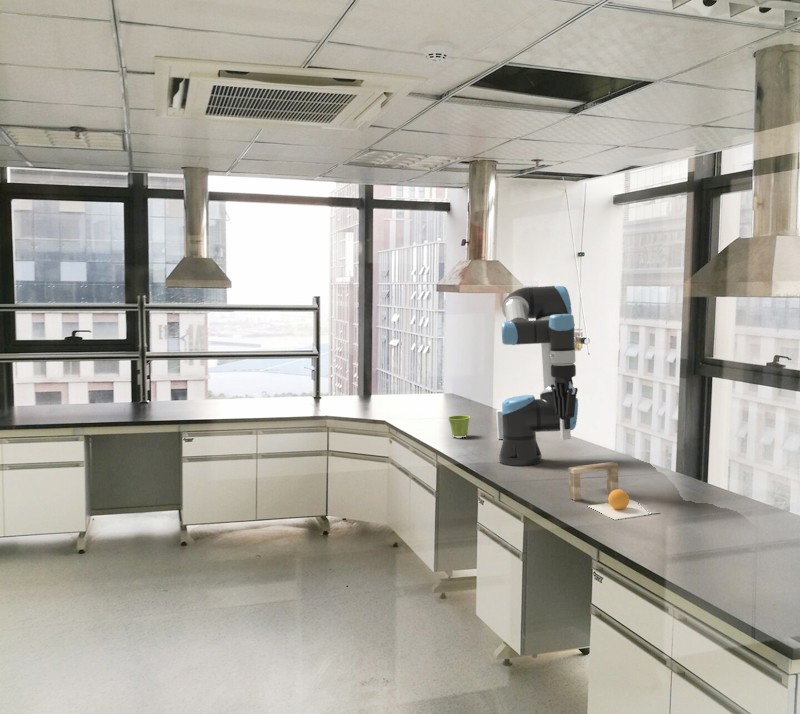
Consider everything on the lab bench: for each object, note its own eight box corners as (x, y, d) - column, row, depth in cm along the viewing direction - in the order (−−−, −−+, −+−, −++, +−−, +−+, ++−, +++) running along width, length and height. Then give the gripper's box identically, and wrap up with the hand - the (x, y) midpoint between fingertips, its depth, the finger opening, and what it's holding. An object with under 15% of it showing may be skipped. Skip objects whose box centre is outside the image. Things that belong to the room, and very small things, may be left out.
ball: (609, 514, 207) (602, 496, 210) (627, 511, 209) (619, 494, 212) (617, 505, 203) (610, 487, 206) (635, 502, 204) (627, 484, 208)
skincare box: (511, 437, 315) (510, 409, 314) (513, 439, 311) (512, 410, 310) (496, 438, 315) (495, 409, 314) (498, 440, 311) (497, 411, 310)
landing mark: (587, 506, 212) (587, 505, 212) (630, 500, 216) (630, 499, 216) (614, 520, 198) (614, 519, 198) (660, 513, 202) (660, 512, 202)
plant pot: (469, 439, 316) (468, 419, 315) (447, 439, 318) (446, 419, 317) (472, 435, 325) (471, 415, 324) (451, 435, 327) (450, 415, 326)
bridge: (569, 498, 221) (568, 467, 220) (613, 492, 225) (612, 461, 224) (574, 500, 218) (573, 469, 217) (618, 494, 222) (617, 463, 221)
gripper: (542, 363, 239) (545, 436, 241) (562, 366, 226) (565, 444, 228) (563, 361, 241) (566, 434, 243) (584, 364, 228) (587, 441, 230)
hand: (565, 439), depth 235 cm, fingers closed
